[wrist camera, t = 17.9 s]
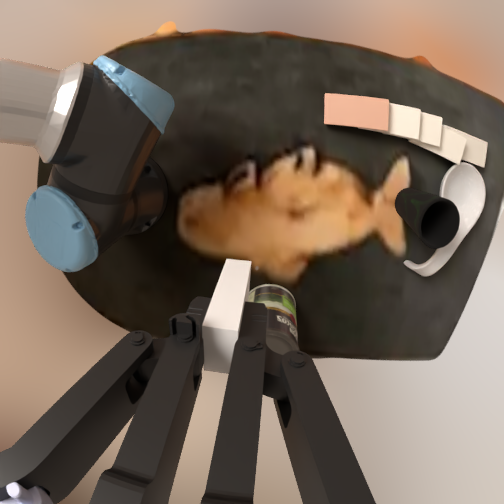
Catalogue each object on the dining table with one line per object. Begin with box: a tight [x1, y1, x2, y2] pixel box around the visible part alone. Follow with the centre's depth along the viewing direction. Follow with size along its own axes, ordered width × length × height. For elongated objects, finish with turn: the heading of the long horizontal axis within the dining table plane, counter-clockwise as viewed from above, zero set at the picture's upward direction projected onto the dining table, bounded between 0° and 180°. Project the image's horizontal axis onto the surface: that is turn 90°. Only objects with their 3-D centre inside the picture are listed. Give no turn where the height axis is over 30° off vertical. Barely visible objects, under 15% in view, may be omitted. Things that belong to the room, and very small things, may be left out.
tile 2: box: [382, 112, 442, 147], centre depth 38 cm, size 2×5×10 cm
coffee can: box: [248, 284, 299, 355], centre depth 50 cm, size 10×10×14 cm
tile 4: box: [445, 127, 487, 167], centre depth 38 cm, size 2×5×10 cm
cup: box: [395, 188, 460, 249], centre depth 40 cm, size 8×8×12 cm
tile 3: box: [408, 126, 467, 165], centre depth 38 cm, size 2×5×10 cm
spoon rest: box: [404, 162, 486, 276], centre depth 43 cm, size 24×12×7 cm, turn 156°
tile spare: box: [324, 93, 389, 131], centre depth 38 cm, size 2×5×10 cm
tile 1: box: [358, 103, 421, 140], centre depth 38 cm, size 2×5×10 cm
